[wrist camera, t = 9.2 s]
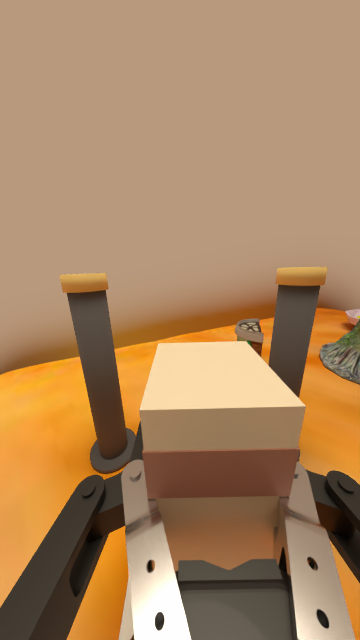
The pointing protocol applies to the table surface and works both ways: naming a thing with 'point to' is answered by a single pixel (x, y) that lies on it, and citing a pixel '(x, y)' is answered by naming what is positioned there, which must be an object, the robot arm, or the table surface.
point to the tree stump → (344, 355)
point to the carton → (218, 449)
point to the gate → (100, 361)
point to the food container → (250, 334)
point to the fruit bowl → (353, 316)
